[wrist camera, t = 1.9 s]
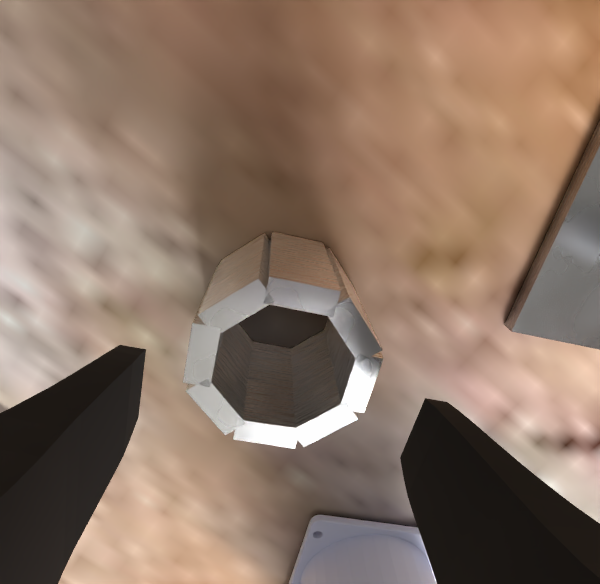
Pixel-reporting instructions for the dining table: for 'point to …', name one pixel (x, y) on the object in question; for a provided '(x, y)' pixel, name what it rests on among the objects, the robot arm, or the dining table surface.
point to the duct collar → (280, 360)
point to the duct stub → (567, 265)
